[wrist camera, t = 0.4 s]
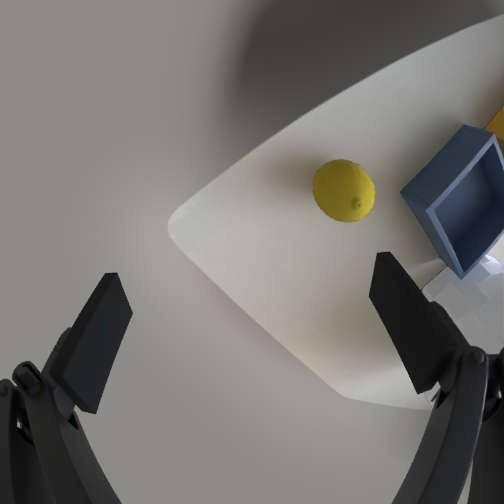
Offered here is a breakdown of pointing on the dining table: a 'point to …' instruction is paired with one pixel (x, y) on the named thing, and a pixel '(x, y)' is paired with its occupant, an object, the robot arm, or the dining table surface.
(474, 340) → the white brick well
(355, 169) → the lemon
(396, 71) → the dining table surface
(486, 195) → the blue bin
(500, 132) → the yellow bin
